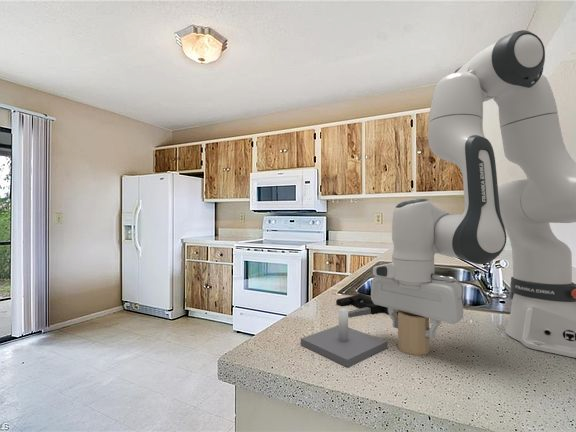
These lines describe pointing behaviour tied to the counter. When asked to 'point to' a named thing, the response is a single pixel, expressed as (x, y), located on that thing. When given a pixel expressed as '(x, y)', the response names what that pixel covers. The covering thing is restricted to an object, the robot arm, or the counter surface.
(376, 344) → the roll holder
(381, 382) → the counter surface
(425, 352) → the paper roll
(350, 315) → the black two-tone tubular device
